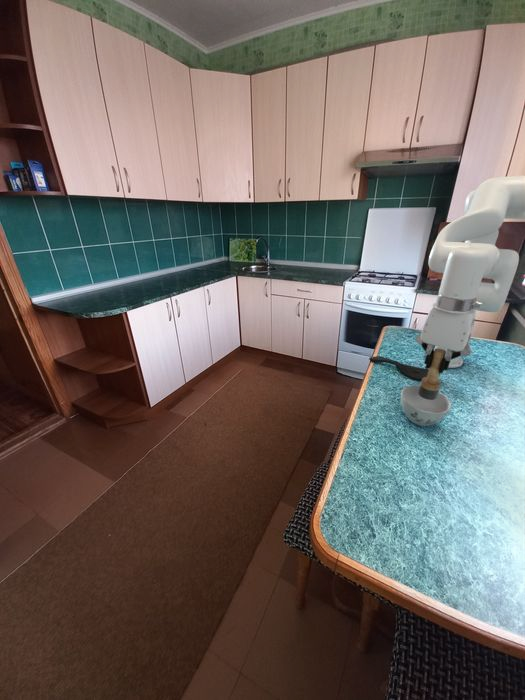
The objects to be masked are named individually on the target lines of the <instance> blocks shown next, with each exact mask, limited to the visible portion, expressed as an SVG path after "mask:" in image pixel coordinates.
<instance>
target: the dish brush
mask: <svg viewBox="0 0 525 700" xmlns="http://www.w3.org/2000/svg"><path fill="white" fill-rule="evenodd" d="M445 354H446V351H445V350H443V349H439V348H437V349H435V350H434V354H433V357H432V361H431V364H430V368H429V371H428V375H427V377H424V378H422V380H420V384H419V386H420V388H419V392H418V394H419V395H420V396H421V397H422V398H424V399H428V400H434V399H436V398H437V395H438V392H439V391H440V388H441V385H442V383H441V381H440V380H439V377H440V375H441V373H439V369H440V366H441V363H442V360H443V359H444V357H445ZM439 374H440V375H439ZM439 393H440V392H439Z"/></svg>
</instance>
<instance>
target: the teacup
mask: <svg viewBox="0 0 525 700" xmlns="http://www.w3.org/2000/svg"><path fill="white" fill-rule="evenodd" d="M419 388H420V385H409V386H405V387H403V389H402V390H401V393H400V405H401V409H402V411H403V413H404V415H405V416H406V417H407V418H408V420H409V421H410V422H411V423H413V424H414V425H417V426H421V427H427V426H430V425H431V426H432V425H434V424H436V423H439V422H440V421H442V420H443V419H444V418H445V417H447V415H448V413H449V412H450V410H451V408H452V403H451V400H450V399H449V397H447V396H446V395H445V394H443V393H441V392H438V395H437V398H436V399H434V400H428V399H424V398H422V397H421V396H420V395H419V394H418V392H419Z"/></svg>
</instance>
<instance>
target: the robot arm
mask: <svg viewBox="0 0 525 700" xmlns="http://www.w3.org/2000/svg"><path fill="white" fill-rule="evenodd" d="M505 219H506V220H507V219H508V220H521V219H523V220H524V219H525V175H513V176H496V177H492V178H489V179H486V180H484V181H483V182H481V183H480V184H479V185H478V187H477V188H476V189H473V190H471V191H470V192H469V193H468V194H467V196H466V198H465V202H464V214H463V215H461V216H460V217H458V218H455V219H454V220H452V221H451V222H450V223H448V224H446V226H444V227H443V228H442V229H441V230H440V232H439V233H438V235H437V236H436V239H435V241H434V243H433V245H432V248H431V250H430V253H429V256H428V268H429V269H430V270H431V271H432V272H434V273H439V274H443V275H442V278H441V282H440V286H439V290H438V292H437V297H436V301H435V302H434V303H433V304H432V305H431V307H430V309H429V310H428V313H427V316H426V318H425V321H424V324H423V326H422V330H421V332H420V333H419V334H418V335H417V336H416V337H415V338H414V341H415V342H416V343H417V344H418V345H420V346H421V347H422V349H423V350H424V352H425V359H424V363H423V364H425V366H426V367H425V366H424V367H425V368H424V369H429V368H430V364H431V361H432V357H433V354H434V350H435V349H437V348H439V349H443V350H445V351H446V354H445V357H444V359H443V360H442V363H441V366H440V369H439V373H440V375H441V374H443V373H444V371H448V369H453V368H454V369H457V368H460V367H462V366H463V363H464V360H463V359H462V358H461V357H470V356H471V354H472V347H471V343H470V341H471V338H472V334H473V331H474V326H475V322H476V321H475V320H476V315H477V313H476V311H477V312H485V313H486V312H487V313H498V312H500V311H502V309H503V307H504V305H505V303H506V300H507V298H508V295H509V292H510V289H511V287H512V284H513V281H514V278H515V276H516V272H517V269H518V266H519V262H520V255H519V253H518V251H516V250H514V249H506V248H498V247H497V246H496V243H497V240H498V237H499V234H500V230H499V229H500V228H501V227H502V225H503V223H504V221H505ZM483 279H486V280H487V279H488V280H492V281H493V282H494V283H492V282H482V280H483Z"/></svg>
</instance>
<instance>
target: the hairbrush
mask: <svg viewBox="0 0 525 700" xmlns="http://www.w3.org/2000/svg"><path fill="white" fill-rule="evenodd" d="M372 357H373V358H372ZM368 360H369V361H370V362H376V363H385V364H389V365H394V366H395V367H396V368H397V370H398V371H399V372H400V373H401V374H402V375H404V376H405V377H407V378H409V379H411V380H416V381H422V378H424V377H427V375H428V371H429V369H426V368H425V367H426V365H425V366H423V365H420V366H419V365H417V364H413V363H410V362H408V361H407V363H408V364H406V363H404V364H403V363H402V362H399V361H397V360H394V359H391V358H389V357H384V356H370V357H369V358H368ZM412 364H413V365H412ZM414 365H415V366H414ZM440 375H441V373H440V374H439V376H440Z"/></svg>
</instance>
